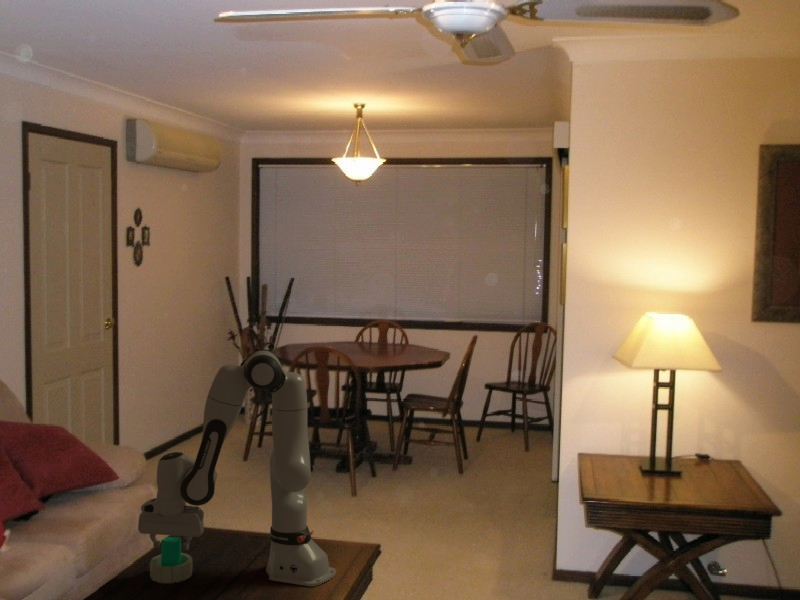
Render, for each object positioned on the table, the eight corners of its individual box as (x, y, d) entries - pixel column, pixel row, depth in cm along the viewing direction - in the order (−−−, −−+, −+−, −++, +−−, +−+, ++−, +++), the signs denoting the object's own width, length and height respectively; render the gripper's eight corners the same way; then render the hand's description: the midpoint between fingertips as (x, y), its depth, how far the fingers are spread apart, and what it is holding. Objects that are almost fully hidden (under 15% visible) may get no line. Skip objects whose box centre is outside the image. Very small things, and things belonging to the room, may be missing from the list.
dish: (200, 572, 268) (200, 557, 267) (172, 586, 257) (172, 571, 257) (170, 564, 274) (170, 549, 273) (142, 577, 263) (141, 562, 262)
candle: (185, 570, 267) (185, 533, 266) (173, 577, 261) (173, 539, 260) (169, 567, 269) (169, 530, 268) (157, 574, 264) (157, 536, 263)
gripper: (207, 503, 265) (206, 546, 267) (144, 499, 268) (144, 542, 269) (200, 510, 259) (200, 554, 260) (135, 506, 261) (136, 549, 263)
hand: (171, 548), depth 265 cm, fingers open, 8 cm apart
